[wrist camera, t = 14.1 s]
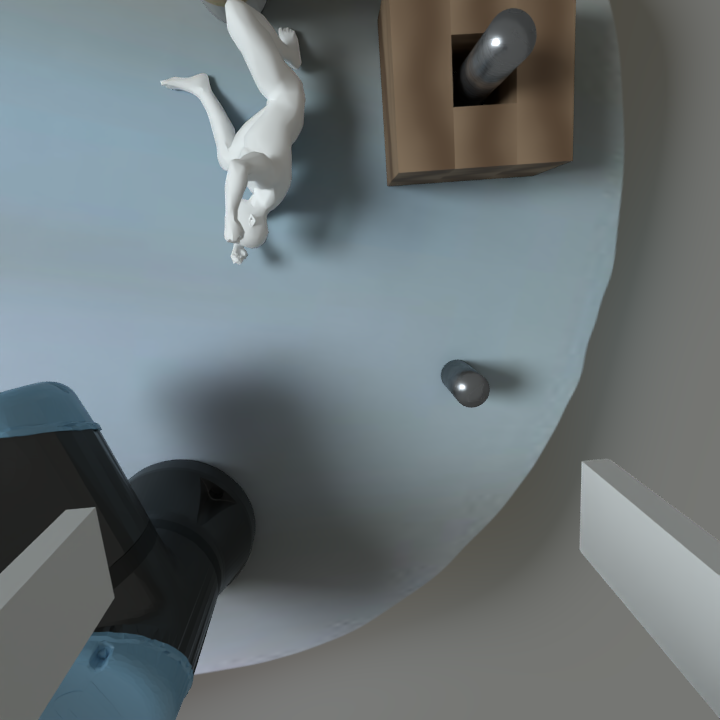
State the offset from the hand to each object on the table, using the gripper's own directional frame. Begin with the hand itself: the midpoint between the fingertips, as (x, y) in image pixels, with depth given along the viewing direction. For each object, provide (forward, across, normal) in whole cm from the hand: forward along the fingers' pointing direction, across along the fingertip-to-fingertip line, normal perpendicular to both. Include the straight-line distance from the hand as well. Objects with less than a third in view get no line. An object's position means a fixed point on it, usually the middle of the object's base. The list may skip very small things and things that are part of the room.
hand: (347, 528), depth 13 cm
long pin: (+37, +13, +20) cm, 44 cm away
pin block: (+37, +13, +20) cm, 44 cm away
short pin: (+37, +12, -6) cm, 39 cm away
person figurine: (+37, -5, +17) cm, 41 cm away
